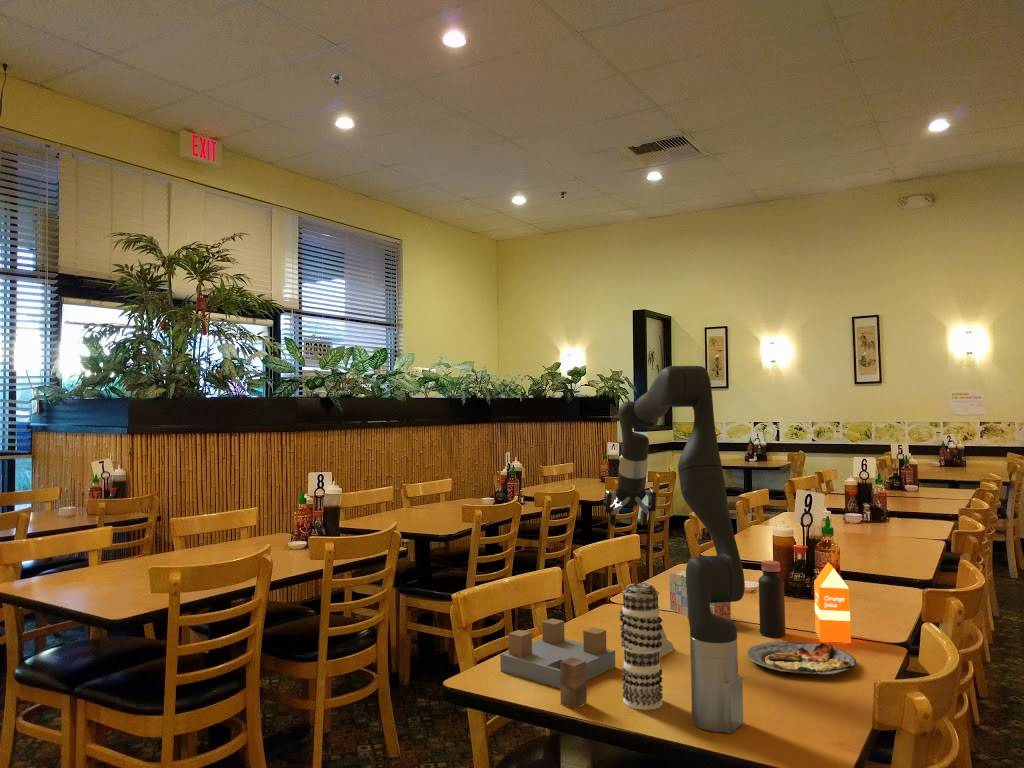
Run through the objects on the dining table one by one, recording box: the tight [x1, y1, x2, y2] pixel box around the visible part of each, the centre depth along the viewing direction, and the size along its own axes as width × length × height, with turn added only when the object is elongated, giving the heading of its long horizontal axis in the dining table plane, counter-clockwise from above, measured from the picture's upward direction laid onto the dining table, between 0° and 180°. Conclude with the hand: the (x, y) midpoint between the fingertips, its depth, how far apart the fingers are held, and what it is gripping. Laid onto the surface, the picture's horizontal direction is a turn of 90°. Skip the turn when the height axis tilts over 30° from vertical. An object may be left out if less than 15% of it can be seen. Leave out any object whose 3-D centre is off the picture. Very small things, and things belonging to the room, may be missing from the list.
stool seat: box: [499, 617, 616, 690], centre depth 183 cm, size 20×20×9 cm
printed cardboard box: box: [668, 569, 732, 621], centre depth 227 cm, size 21×6×12 cm, turn 25°
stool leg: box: [560, 657, 588, 709], centre depth 161 cm, size 4×4×9 cm
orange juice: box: [813, 561, 852, 644], centre depth 205 cm, size 8×9×20 cm
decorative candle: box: [619, 582, 664, 711], centre depth 162 cm, size 9×9×25 cm
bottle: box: [758, 560, 786, 639], centre depth 209 cm, size 7×7×20 cm
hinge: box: [620, 622, 675, 659], centre depth 193 cm, size 17×5×10 cm, turn 142°
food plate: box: [747, 640, 857, 676], centre depth 185 cm, size 25×23×4 cm
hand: (627, 524), depth 207 cm, fingers open, 8 cm apart
